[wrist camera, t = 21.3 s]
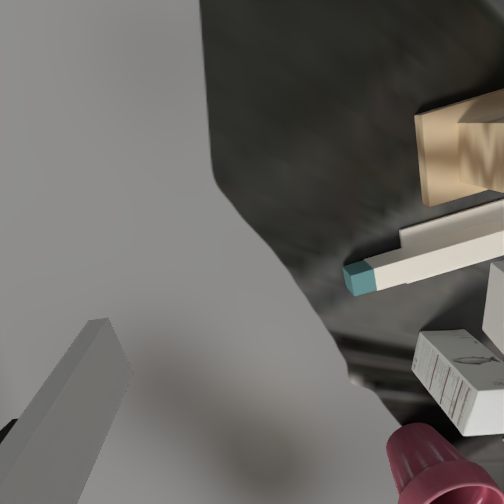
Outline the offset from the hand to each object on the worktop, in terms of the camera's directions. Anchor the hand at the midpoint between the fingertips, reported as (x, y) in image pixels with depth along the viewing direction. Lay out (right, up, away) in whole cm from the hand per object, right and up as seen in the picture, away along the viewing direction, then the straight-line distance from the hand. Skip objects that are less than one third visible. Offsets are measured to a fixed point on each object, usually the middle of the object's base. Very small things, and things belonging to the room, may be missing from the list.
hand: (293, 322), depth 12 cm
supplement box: (+27, -12, +41) cm, 50 cm away
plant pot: (+26, -30, +47) cm, 62 cm away
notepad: (+26, +4, +34) cm, 43 cm away
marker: (+21, +2, +34) cm, 40 cm away
